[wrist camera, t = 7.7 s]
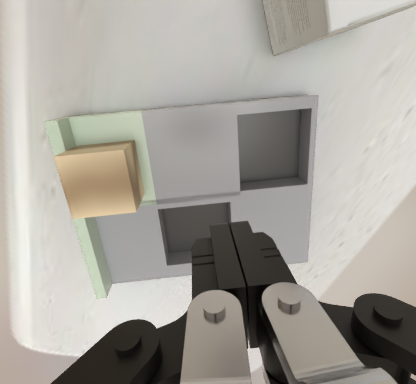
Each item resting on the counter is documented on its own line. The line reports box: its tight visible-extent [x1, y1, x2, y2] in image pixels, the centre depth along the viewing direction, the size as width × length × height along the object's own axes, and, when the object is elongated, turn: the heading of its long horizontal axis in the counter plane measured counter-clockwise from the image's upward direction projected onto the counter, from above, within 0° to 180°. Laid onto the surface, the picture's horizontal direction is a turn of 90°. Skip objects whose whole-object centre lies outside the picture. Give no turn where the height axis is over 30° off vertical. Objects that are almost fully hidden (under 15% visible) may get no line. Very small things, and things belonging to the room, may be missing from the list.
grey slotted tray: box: [44, 95, 318, 299], centre depth 25 cm, size 17×22×4 cm
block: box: [54, 140, 144, 219], centre depth 22 cm, size 5×5×4 cm
